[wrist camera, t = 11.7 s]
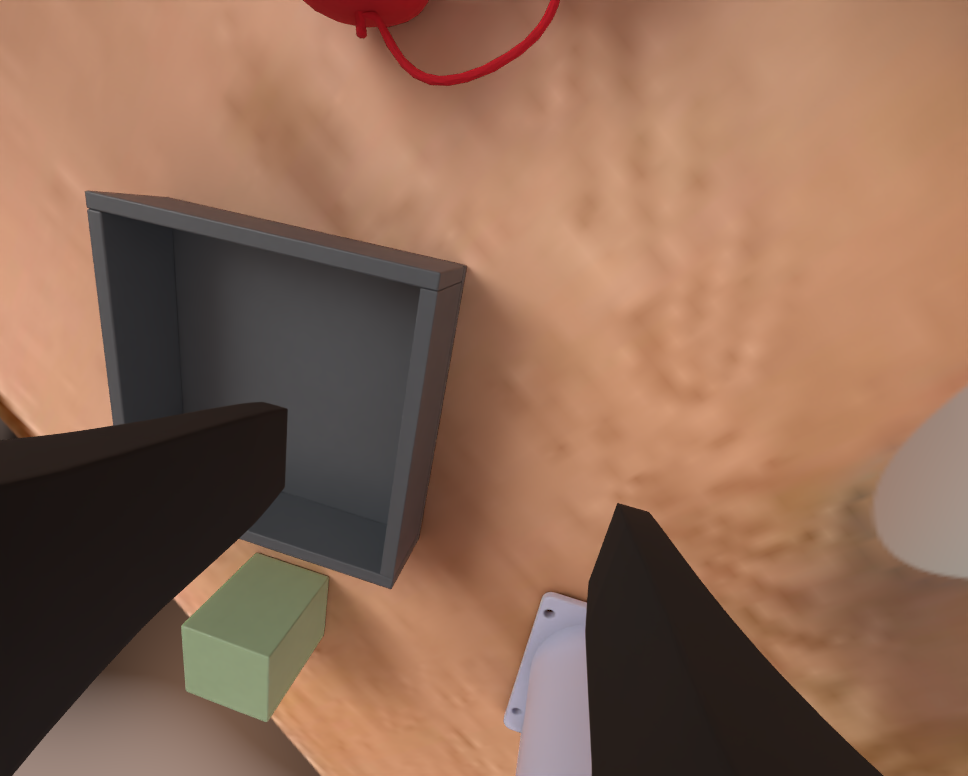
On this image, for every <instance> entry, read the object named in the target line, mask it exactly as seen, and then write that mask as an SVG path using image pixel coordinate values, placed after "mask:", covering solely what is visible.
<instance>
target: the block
mask: <svg viewBox="0 0 968 776" xmlns="http://www.w3.org/2000/svg"><path fill="white" fill-rule="evenodd" d="M328 584H329V577H328V576H325V575H322V574H319V573H316V572H313V571H310V570H307V569H304V568H301V567H298V566H295V565H292V564H290V563H287V562H284V561H281V560H278V559H275V558H272V557H269V556H266V555H263V554H260V553H255V554H254V555H253V556H252V557H251V558H250V559H249V560H248V561H247V562H246V563H245V564H244V565H243V566H242V567H241V568H240V569H239V570H238V571H237V572H236V573H235V574H234V575H233V576H232V577H231V578H230V579H229V580H228V581H227V582H226V583H225V584H224V585H223V586H222V587H220V588H219V589H218V590H217V591H216V592H215V593H214V594H213V595H212V596H211V597H210V598H209V599H208V600H207V601H206V602H205V603H204V604H203V605H202V606H201V607H200V608H199V609H198V610H197V611H196V612H195V613H194V614H193V615H192V616H191V617H190V618H189V619H188V620H187V621H186V622H185V623H184V624H183V625H182V627H181V631H182V643H183V658H184V671H185V685H186V691H187V692H189V693H192V694H195V695H197V696H200V697H202V698H205V699H208V700H211V701H213V702H215V703H218V704H220V705H223V706H226V707H228V708H231V709H234V710H236V711H238V712H241V713H244V714H246V715H249V716H251V717H254V718H256V719H259V720H262V721H264V722H268V721H269V719H270V717H271V716H272V714H273V713H274V711H275V710H276V708H277V707H278V705H279V704H280V702H281V700H282V699H283V697H284V696H285V694H286V693H287V691H288V690H289V688H290V687H291V685H292V684H293V682H294V680H295V679H296V677H297V676H298V674H299V673H300V671H301V670H302V668H303V667H304V665H305V663H306V662H307V660H308V659H309V657H310V656H311V654H312V653H313V651H314V650H315V648H316V646H317V645H318V643H319V642H320V640H321V639H322V637H323V636H324V629H325V618H326V606H327V595H328Z"/></svg>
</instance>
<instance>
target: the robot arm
mask: <svg viewBox="0 0 968 776" xmlns="http://www.w3.org/2000/svg"><path fill="white" fill-rule="evenodd" d="M287 419H288V409H287V408H284V407H280V406H277V405H273V404H270V403H266V402H251V403H242V404H235V405H229V406H223V407H217V408H211V409H206V410H200V411H195V412H189V413H184V414H178V415H173V416H168V417H162V418H157V419H151V420H145V421H139V422H133V423H127V424H120V425H114V426H108V427H102V428H96V429H89V430H83V431H76V432H69V433H61V434H53V435H45V436H37V437H27V438H17V439H8V440H0V776H12V775H13V774H14V773H15V771H16V770H17V769H18V768H19V767H20V766H21V764H22V763H23V762H24V761H25V760H26V758H27V757H28V756H29V755H30V753H31V752H32V751H33V750H34V748H35V747H36V746H37V745H38V744H39V743H40V741H41V740H42V739H43V738H44V737H45V736H46V734H47V733H48V732H49V731H50V730H51V729H52V728H53V726H54V725H55V724H56V723H57V722H58V721H59V720H60V718H61V717H62V716H63V715H64V714H65V712H67V710H68V709H69V708H70V707H71V706H72V705H73V703H74V702H75V701H76V700H77V699H78V698H79V697H80V696H81V694H82V693H83V692H84V691H85V690H86V689H87V688H88V686H89V685H90V684H91V683H92V682H93V681H94V680H95V678H96V677H97V676H98V675H99V674H100V673H101V672H102V671H103V670H104V669H105V668H106V667H107V665H108V664H109V663H110V662H111V661H112V660H113V659H114V658H115V657H116V655H118V654H119V652H120V651H121V650H122V649H123V648H124V647H125V646H126V645H127V644H128V643H129V642H130V641H131V640H132V638H133V637H134V636H135V635H136V634H137V633H138V632H139V631H140V630H141V628H143V627H144V626H145V625H146V624H147V623H148V622H149V621H150V620H151V619H152V618H153V617H154V616H155V615H156V614H157V613H158V612H159V611H160V610H161V609H162V608H163V607H164V606H165V605H166V604H167V603H169V602H170V601H171V600H172V599H173V598H174V597H175V596H176V595H177V594H179V593H180V592H181V591H182V590H183V589H184V588H185V587H186V586H187V585H188V584H190V583H191V582H192V581H193V580H194V579H195V578H196V577H197V576H198V575H199V574H201V573H202V572H203V571H204V570H205V569H206V568H207V567H208V566H209V565H210V564H212V563H213V562H214V561H215V560H216V559H217V558H218V557H219V556H220V555H222V554H223V553H224V552H225V551H226V550H227V549H228V548H229V547H230V546H231V545H232V544H233V543H235V542H236V541H237V540H238V539H239V538H240V537H241V536H242V535H243V534H244V533H245V532H246V531H247V530H248V529H250V528H251V527H252V526H253V525H254V524H255V523H256V522H257V520H258V519H259V518H260V517H261V516H262V515H263V514H264V512H265V511H266V510H267V509H268V508H269V507H270V505H271V504H272V503H273V502H274V500H275V499H276V498H277V497H278V495H279V494H280V493H281V492H282V490H283V489H284V488H285V473H286V446H287ZM547 610H552V611H553V612H548V611H547ZM504 724H505V726H506V727H508V728H509V729H511V730H514V731H517V732H520V733H521V737H520V745H519V753H518V760H517V768H516V776H883V775H882V774H881V773H880V772H879V771H878V770H877V769H876V768H875V767H874V766H872V765H871V764H870V763H869V762H868V761H867V760H866V759H865V758H864V757H863V756H862V755H861V754H859V753H858V752H857V751H856V750H855V749H854V748H853V747H852V746H851V745H850V744H849V743H848V742H847V741H846V740H845V739H844V738H843V737H842V736H841V735H840V734H839V733H838V732H837V731H836V730H835V729H834V728H833V727H831V726H830V725H829V724H828V723H827V722H826V721H825V720H824V719H823V718H822V717H821V716H820V715H819V713H818V712H817V711H816V710H815V709H814V708H813V707H812V706H811V705H810V704H809V703H808V702H807V701H806V700H805V699H804V698H803V697H802V696H801V695H800V694H799V693H798V692H797V691H796V690H795V689H794V688H793V687H792V686H791V685H790V684H789V682H788V681H787V680H786V679H785V678H784V677H783V676H782V675H781V674H780V673H779V672H778V671H777V670H776V669H775V668H774V667H773V666H772V664H771V663H770V662H769V661H768V660H767V659H766V658H765V657H764V656H763V655H762V653H761V652H760V651H759V650H758V649H757V648H756V647H755V645H754V644H753V643H752V642H751V641H750V640H749V638H748V637H747V636H746V635H745V634H744V633H743V631H742V630H741V629H740V628H739V627H738V626H737V624H736V623H735V622H734V621H733V620H732V619H731V618H730V616H729V615H728V614H727V613H726V611H725V610H724V609H723V608H722V607H721V605H720V604H719V603H718V602H717V600H716V599H715V598H714V597H713V595H712V594H711V593H710V592H709V590H708V589H707V588H706V587H705V585H704V584H703V583H702V581H701V580H700V579H699V578H698V576H697V575H696V574H695V572H694V571H693V570H692V568H691V567H690V566H689V564H688V563H687V562H686V560H685V559H684V558H683V556H682V555H681V554H680V552H679V551H678V550H677V548H676V547H675V546H674V544H673V543H672V542H671V540H670V539H669V537H668V536H667V535H666V533H665V532H664V531H663V529H662V528H661V527H660V525H659V524H658V523H657V521H656V520H655V519H654V518H653V516H652V515H651V514H650V513H649V512H647V511H643V510H640V509H636V508H633V507H629V506H626V505H622V504H619V503H617V506H616V509H615V511H614V514H613V517H612V520H611V522H610V525H609V528H608V531H607V533H606V536H605V539H604V542H603V544H602V547H601V550H600V553H599V555H598V558H597V561H596V563H595V566H594V569H593V572H592V574H591V577H590V580H589V585H588V597H587V603H586V602H583V601H580V600H577V599H574V598H571V597H568V596H564V595H561V594H558V593H555V592H547V593H545V594H544V595H543V597H542V599H541V602H540V605H539V609H538V612H537V615H536V618H535V621H534V624H533V627H532V630H531V633H530V637H529V640H528V643H527V646H526V649H525V652H524V655H523V658H522V662H521V665H520V668H519V671H518V674H517V677H516V680H515V683H514V686H513V690H512V693H511V696H510V699H509V702H508V705H507V708H506V711H505V715H504Z"/></svg>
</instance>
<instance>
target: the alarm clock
mask: <svg viewBox="0 0 968 776" xmlns="http://www.w3.org/2000/svg"><path fill="white" fill-rule="evenodd" d="M303 1H304V2H306V3H307V4H308V5H309V6H310V7H312V8H313V9H314V10H315V11H317V12H319V13H321V14H323V15H325V16H327V17H329V18H331V19H334V20H336V21H338V22H341V23H345V24H350V25H355V26H356V34H357V36H358V37H359V38H363V39H364V38H365V37H366V36H367V30H366V27H378V28H379V31H380V33H381V35H382V37H383V39H384V41H385V43H386V46H387V47H388V48H389V50H390V51H391V53H392V54H393V56H394V57H395V58H396V60H397V61H398V63H399V64H400V66H401V67H402V68H403V69H404V70H405V71H407V72H408V73H409V74H410V75H411V76H412V77H413V78H415V79H418V80H420V81H422V82H424V83H427V84H429V85H441V86H450V85H455V84H460V83H465V82H469V81H472V80H474V79H477V78H479V77H482V76H484V75H487V74H490V73H492V72H495V71H496V70H498V69H499V68H501V67H503V66H504V65H506V64H508V63H509V62H511V61H512V60H514V59H516V58H517V57H519V56H520V55H522V54H523V53H524V52H525V51H526V50H527V49H528V48H529V47H531V46H532V45H533V44H534V43H535V42H536V41H537V40H538V39H539V38H540V37H541V35H542V34H543V33H544V31H545V30H546V28H547V27H548V26H549V24H550V23H551V21H552V20H553V17H554V15H555V13H556V11H557V8H558V6H559V2H560V0H550V3H549V5H548V7H547V10H546V12H545V14H544V16H543V17H542V19H541V21H540V22H539V24H538V25H537V26H536V28H535V29H534V30H533V31H532V32H531V33H530V34H529V35H528V36H527V37H526V38H525V40H523V41H522V42H521V43H519V44H518V45H516V46H515V47H514V48H512V49H511V50H510V51H508V52H507V53H505V54H503V55H501V56H500V57H498V58H496V59H494V60H492V61H491V62H489V63H487V64H485V65H483V66H481V67H478V68H475V69H472V70H469V71H466V72H463V73H460V74H454V75H447V76H438V75H433V74H427V73H425V72H423V71H421V70H419V69H417V68H416V67H415V66H414V65H412V64H411V63H410V62H409V61H408V60H407V59H406V58H405V57H404V56H403V54H402V53H401V51H400V50H399V48H398V47H397V45H396V43H395V41H394V40H393V38H392V36H391V34H390V32H389V31H388V29H387V27H390V26H394V25H397V24H401V23H405V22H408V21H409V20H411V19H412V18H414V17H415V16H417V15H418V14H420V13H421V11H422V10H423V9H424V7H425V6H426V4H427V3H428V1H429V0H303Z"/></svg>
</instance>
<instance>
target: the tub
mask: <svg viewBox="0 0 968 776" xmlns="http://www.w3.org/2000/svg"><path fill="white" fill-rule="evenodd" d="M85 196H86V205H87V208H89V209H88V210H87V213H88V221H89V229H90V237H91V246H92V254H93V262H94V270H95V278H96V287H97V295H98V303H99V311H100V320H101V328H102V336H103V344H104V353H105V361H106V369H107V377H108V386H109V394H110V402H111V410H112V419H113V426H114V425H120V424H127V423H133V422H139V421H145V420H151V419H157V418H162V417H168V416H173V415H178V414H184V413H189V412H195V411H200V410H206V409H211V408H217V407H223V406H229V405H235V404H242V403H251V402H266V403H270V404H273V405H277V406H280V407H284V408H287V409H288V419H287V446H286V473H285V488H284V489H283V490H282V492H281V493H280V494H279V495H278V497H277V498H276V499H275V500H274V502H273V503H272V504H271V505H270V507H269V508H268V509H267V510H266V511H265V512H264V514H263V515H262V516H261V517H260V518H259V519H258V520H257V522H256V523H255V524H254V525H253V526H252V527H251V528H250V529H248V530H247V531H246V532H245V533H244V534H243V535H242V536H241V537H240V538H239V539H242V540H245V541H248V542H251V543H254V544H257V545H260V546H263V547H266V548H269V549H272V550H275V551H278V552H281V553H284V554H287V555H290V556H293V557H296V558H299V559H302V560H305V561H308V562H311V563H314V564H317V565H320V566H323V567H326V568H329V569H332V570H335V571H338V572H341V573H344V574H347V575H350V576H353V577H356V578H359V579H362V580H365V581H368V582H371V583H374V584H377V585H380V586H383V587H386V588H389V589H392V587H393V585H394V583H395V582H396V580H397V578H398V576H399V574H400V572H401V571H402V569H403V567H404V565H405V563H406V561H407V559H408V558H409V556H410V554H411V552H412V550H413V548H414V547H415V545H416V543H417V541H418V539H419V535H420V530H421V524H422V518H423V513H424V507H425V501H426V496H427V490H428V484H429V479H430V473H431V467H432V462H433V456H434V450H435V445H436V439H437V433H438V428H439V422H440V416H441V410H442V405H443V399H444V393H445V388H446V382H447V376H448V371H449V365H450V359H451V354H452V348H453V342H454V337H455V331H456V325H457V320H458V314H459V308H460V303H461V297H462V291H463V286H464V280H465V274H466V269H467V266H466V265H463V264H459V263H454V262H450V261H445V260H441V259H437V258H432V257H428V256H423V255H419V254H415V253H410V252H406V251H401V250H397V249H393V248H388V247H384V246H379V245H375V244H371V243H366V242H362V241H357V240H353V239H349V238H344V237H340V236H336V235H331V234H327V233H322V232H318V231H314V230H309V229H305V228H300V227H296V226H292V225H287V224H283V223H278V222H274V221H270V220H265V219H261V218H256V217H252V216H248V215H243V214H239V213H234V212H230V211H226V210H221V209H217V208H213V207H208V206H204V205H199V204H195V203H191V202H186V201H182V200H177V199H173V198H169V197H158V196H146V195H134V194H122V193H110V192H98V191H85Z"/></svg>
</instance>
